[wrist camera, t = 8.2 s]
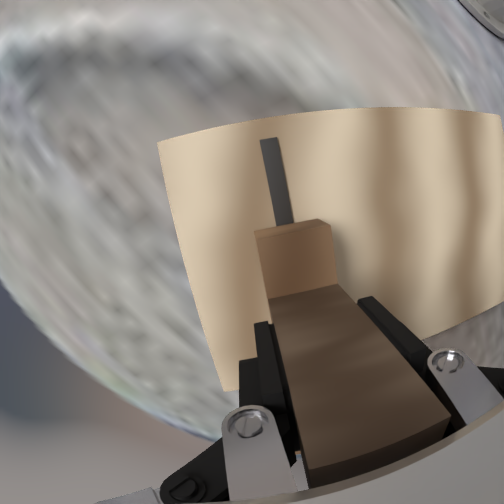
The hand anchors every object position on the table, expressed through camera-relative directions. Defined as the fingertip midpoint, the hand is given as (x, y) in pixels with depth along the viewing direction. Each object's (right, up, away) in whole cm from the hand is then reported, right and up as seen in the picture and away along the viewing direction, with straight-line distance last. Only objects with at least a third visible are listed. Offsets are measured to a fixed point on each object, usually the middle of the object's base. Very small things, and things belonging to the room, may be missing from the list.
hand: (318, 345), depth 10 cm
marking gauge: (0, -1, +6) cm, 6 cm away
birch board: (+5, +5, +5) cm, 9 cm away
